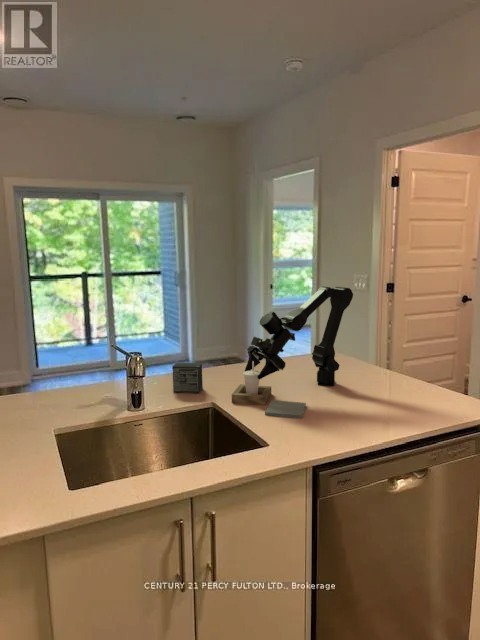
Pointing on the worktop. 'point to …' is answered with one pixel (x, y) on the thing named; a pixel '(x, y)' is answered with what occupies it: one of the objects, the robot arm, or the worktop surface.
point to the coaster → (286, 409)
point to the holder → (251, 395)
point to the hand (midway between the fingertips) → (251, 375)
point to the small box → (187, 377)
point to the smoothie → (251, 381)
